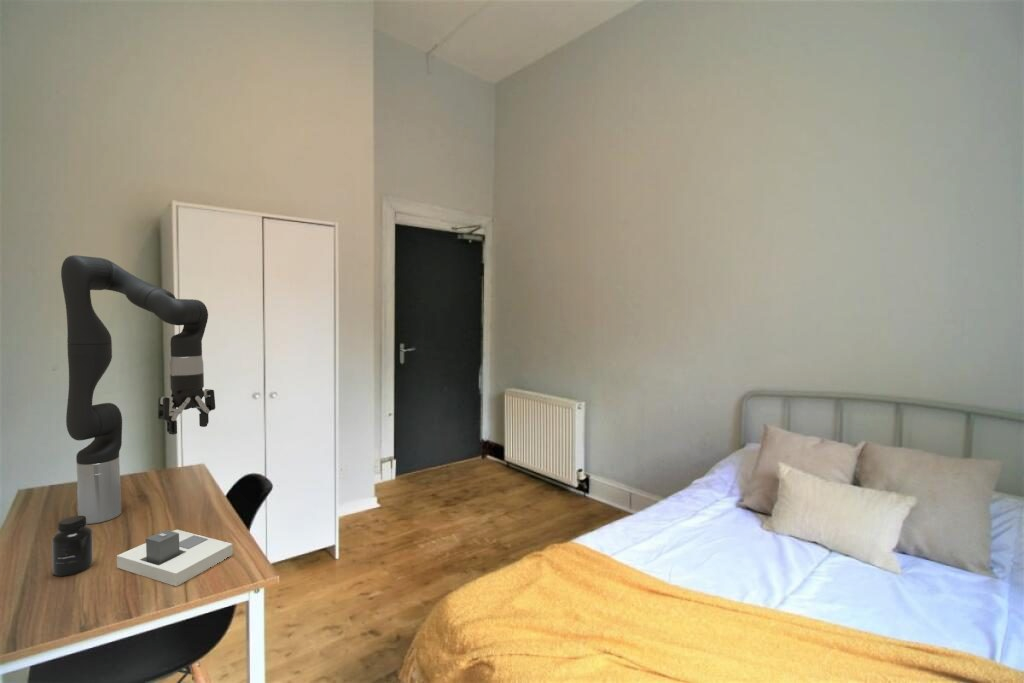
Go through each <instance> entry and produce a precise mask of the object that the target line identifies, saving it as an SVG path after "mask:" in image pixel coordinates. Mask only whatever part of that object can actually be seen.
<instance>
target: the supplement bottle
mask: <svg viewBox="0 0 1024 683" xmlns="http://www.w3.org/2000/svg"><path fill="white" fill-rule="evenodd" d="M87 525H88V524H87V522H86V517H85V516H78V515H73V516H69V517H65V518H63V519H61V520H59V521H58V522H57V532H56V533H55V534H54V536H53V537H52V540H51V545H52V547H51V548H52V551H51V552H52V573H53V575H55V576H56V577H57V576H58V577H66V576H72V575H76V574H79V573H81V572H84V571H85V570H87V569H89V568H90V567H91V566H92V565H93V530H92V528H91V527H89V526H87Z"/></svg>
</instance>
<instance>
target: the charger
mask: <svg viewBox="0 0 1024 683" xmlns="http://www.w3.org/2000/svg"><path fill="white" fill-rule="evenodd" d="M172 531H173V530H167V529H165V530H162V531H160V532H157V533H155V534H153V535H151V536H148V537H146V538H145V543H146V555H147V562H148V563H152V564H155V565H158V566H159V565H161V564H163V563H165V562H167V561H169V560H171V559H173V558H175V557H177V556H179V555H180V553H179V533H176V532H172Z"/></svg>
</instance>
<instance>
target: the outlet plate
mask: <svg viewBox="0 0 1024 683" xmlns="http://www.w3.org/2000/svg"><path fill="white" fill-rule="evenodd" d="M171 531H172V532H176V533H179V553H180V555H179V556H177V557H175V558H173V559H171V560H169V561H167V562H165V563H163V564H161V565H159V566H158V565H155V564H152V563H148V562H147V555H146V542H145V543H142V544H140V545H138V546H136V547H134V548H131V549H129V550H126V551H124V552H122V553H119V554H117V555H116V568H117V569H121V570H124V571H127V572H130V573H133V574H136V575H139V576H142V577H145V578H147V579H148V578H149V579H152V580H155V581H158V582H162V583H165V584H167V585H171V586H174V587H179V586H180V585H182V584H183V583H186V582H188V581H189V580H191V579H192V578H194V577H196V576H198V575H200V574H202V573H203V572H205V571H207V570H209V569H211V568H213V567H214V566H216V565H218V564H220V563H221V562H223V561H225V560H227V559H228V558H227V557H229V556H231V555H232V556H233V553H234V552H233V551H234V550H233V543H230V542H227V541H223V540H220V539H215V538H211V537H207V536H204V535H199V534H196V533H191V532H188V531H184V530H181V529H175V530H171ZM232 556H231V557H232ZM226 558H227V559H226ZM229 558H230V557H229ZM224 559H225V560H224ZM219 562H220V563H219ZM217 563H218V564H217ZM210 567H211V568H210Z"/></svg>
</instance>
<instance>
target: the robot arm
mask: <svg viewBox="0 0 1024 683" xmlns="http://www.w3.org/2000/svg"><path fill="white" fill-rule="evenodd" d="M60 274H61V276H60V278H61V284H62V285H61V286H62V290H63V297H64V303H65V310H66V311H65V312H66V324H67V325H66V327H67V339H66V340H67V341H66V342H67V343H66V344H67V345H66V346H67V348H66V349H67V361H68V362H67V363H68V393H67V394H68V396H67V405H66V417H65V418H66V419H65V420H66V421H65V422H66V429H67V433H68V434H69V436H70V438H72V439H73V440H75V441H85V440H86V441H87V440H90V439H93V440H92V441H91V442H90V443H89V444H88V445H87V446H86V447H84V448H82V449H80V450H79V451H78V452H77V453H76V455H75V456H76V459H75V460H76V461H75V462H76V478H77V486H76V496H77V497H76V498H77V499H76V500H77V516H85V517H86V522H87V524H86V525H91V524H93V525H94V524H98V523H103V522H108V521H110V520H113V519H115V518H118V517H119V516H120V515H121V514H122V496H121V495H122V494H121V493H122V492H121V470H120V469H121V468H120V467H121V466H120V451H121V448H122V445H123V444H122V440H123V439H122V438H123V417H122V416H123V415H122V412H121V410H120V408H119V407H118V406H117V405H116V404H114V403H112V402H104V403H97V404H93V399H94V398H93V397H94V392H95V389H96V387H97V385H98V383H99V382H100V381H101V378H102V377H103V376H104V374H105V373H106V371H107V369H108V368H109V366H110V364H111V362H112V359H113V358H112V357H113V342H112V336H111V333H110V331H109V329H108V328H107V327H106V325H105V324H104V322H103V321H102V320H101V318H99V316H98V315H97V313H96V311H95V310H94V307H93V303H92V297H91V291H111V292H116V293H120V294H123V295H125V297H126V299H128V301H129V302H130V303H131V304H133V305H135V306H136V307H138V308H141V309H143V310H145V311H148V312H150V313H153V314H154V315H155V316H156V317H158V318H159V319H160V320H162V321H163V322H164V323H167V324H169V325H172V326H183V327H182V330H181V332H179V333H177V334H174V335H173V336H171V338H170V343H169V344H170V346H169V347H170V363H169V380H170V381H169V387H170V390H171V395H170V396H160V397H158V401H157V402H158V406H157V408H158V410H157V418H158V420H163V421H166V432H167V433H168V434H169V435H173V436H174V435H176V434H178V422H177V420H176V419H177V418H178V416H179V415H180V414H182V413H183V411H186V410H189V409H196V410H197V411H198V412H199V413H198V414H199V415H198V419H199V420H198V421H199V427H201V428H204V427H205V428H206V427H207V426H208V424H209V421H210V420H209V419H210V418H209V413H210V412H212V411H214V410H216V399H215V398H216V397H215V390H214V389H210V388H209V389H207V388H205V389H204V390H203V388H204V387H205V380H204V379H205V378H204V376H205V375H204V374H205V373H204V369H205V368H204V360H203V342H202V341H203V337H204V335H205V332H206V328H207V323H208V319H209V312H208V308H207V306H206V305H205V303H204V302H203V301H201V300H199V299H194V298H193V299H189V298H188V299H186V298H185V299H184V298H176V297H175V295H174V294H173V293H172V292H170V291H169V290H167V289H165V288H162V287H160V286H158V285H155V284H152V283H150V282H148V281H146V280H143V279H141V278H139V277H137V276H135V275H133V274H132V273H130V272H129V271H127V270H126V269H124V268H122V267H121V266H120V265H118V264H116V263H114V262H113V261H111V260H109V259H107V258H102V257H96V256H85V255H74V254H73V255H69V256H67V257H65V258H64V260H63V262H62V265H61V270H60ZM203 398H204V401H203V400H202V399H203ZM170 405H171V406H170Z"/></svg>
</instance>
